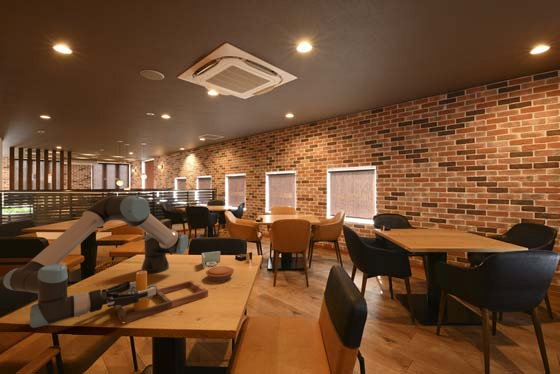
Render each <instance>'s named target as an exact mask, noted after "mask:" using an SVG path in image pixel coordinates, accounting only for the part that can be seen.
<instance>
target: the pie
mask: <svg viewBox="0 0 560 374" xmlns="http://www.w3.org/2000/svg"><path fill="white" fill-rule="evenodd" d="M234 271H235V269H234V268H233V267H230V266H227V265H226V266H225V265H222V266H221V265H219V266H214V267H210V268H209V269H207V270H206V271H205V275H207V277H208V278H209V280H210V281H212V282H225V281H227V280H229V279H230V278H231V277H232V275H233V274H234Z"/></svg>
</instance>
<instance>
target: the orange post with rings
mask: <svg viewBox="0 0 560 374" xmlns="http://www.w3.org/2000/svg"><path fill="white" fill-rule="evenodd" d="M135 282H136V286H132V287H131V290H130V289H128V290H126V291H125V293H124V294H131V293H138V292H140V291H143V290H147V289H151V288H155V287H156V291H157V289H158V286H157V285H155V284H150V285H149V286H148V273H147V271H142V270H140V271H137V272H136V273H135ZM133 288H135V289H133ZM152 298H154V297H153V295H152V296H150V297H149V296H148V297H145V298H141V299H139V302H137V303H132V305H133V310H134V312H135V311H139V310H142V309H145V308H148V307H151V306H150V304H151V303H150V301H151V300H150V299H152Z"/></svg>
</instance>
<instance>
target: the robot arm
mask: <svg viewBox="0 0 560 374" xmlns="http://www.w3.org/2000/svg"><path fill="white" fill-rule="evenodd" d="M110 221H121V222H123V223H125V224H127V225H128V226H130V227H133V228H134V227H135V228H138V229H140V230H141V231H143V232H144V233H146V234H145V235H144V260H143V263H142V266H141V271H147V274H155V273H162V272H165V271H167V270H168V269H169V268H170V263H169V261H168V259H167V258H168V257H167V254H170V255H171V254H172V255H183V254H184V253H185V252H186V251H187V249H188V246H189V237H188V235H186V234H183V233H182V234H181V233H179V232H178V231H176V230H175V229H170V228H168V227H167V226H166V225H165V224H163V222H161V221H160V220H159V219H157V218H156V217H155V216H154V215H152V213H151V208H150V204H149V202H148V200H147V199H146V198H145V197H142V196H138V195H109V196H107V197H104V198H102V199H100V200H98V201H96V202H95V203H94V204H92V205H91V206H89V207H88V208H87V209H86V210H84V211H83V212H82V215H81V217H80V218H79V219H77V221H75V222H74V223H73V224H72V225H71V226H69V227H68V228H67V229H66V230H65V231H64V232H63V233H61V234H60V235H58V237H57V238H55V239H54V241H52V242H51V243H50V244H48V246H46V247H45V248H44V249H42V251H41V252H39V253H38V254H37V255H36V256H35V257H34V258H33V259H31V260H30V261H29V262H27V263H26V264H25V265H24V266H23V267H16V268H14V269H12V270H10V271H8V272H7V273H6V274H5V276H4V278H3V281H2V282H3V286H4V287H5V289H8V290H12V291H15V292H25V293H26V292H28V293H33V294H37V303H35V304H31V305H30V307H29V326H30V328H33V329H34V328H40V327H44V326H50V325H52V324H55V323H58V322H62V321H65V320H69V319H73V318H75V317H76V318H80V317H81V316H82V315H87V314H88V313H94V312H95V313H96V312H98V311H101V310H102V308H103V305H107V308H112V307H113V306H116V305H123V304H127V305H130V304H133V303H137V302H139V299H141V298H145V297H148V296H152V295H156V287H150V288H149V289H147V290H143V291H140V292H138V293H134V292H133V293H131V292H130V293H128V294H125V293H124V292H127V291H128V290H131V287H132V286H136V281H134V282H130V280H126V281H124V282H122V283H121V282H120V283H119V284H117V285H113V286H111V287H108V288H105V289H99V288H98V289H95V290H90V291H89V292H88V293H87V291H86V292H81V293H77V294H74V295H70V296H68V279H69V278H68V277H69V274H68V269H67V268H68V267H67V265H66V264H63V263H61V262H63V261H64V259H65V258H67V257H68V256H69V255H70V254H71V253H72V252H73V251H74V250H75V249H76V248H77V247H79V245H80V244H81V243H83V241H84V240H86V239H87V238H88V237H89V236H90V235H91V234H92V233H93V232H94V231H95V230H96V229H97V228H101V227H103V226H104V225H105V224H107V222H108V223H109V222H110ZM133 290H136V289H135V288H133ZM123 306H124V305H123Z"/></svg>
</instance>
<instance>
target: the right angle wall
mask: <svg viewBox="0 0 560 374" xmlns="http://www.w3.org/2000/svg"><path fill="white" fill-rule="evenodd" d="M220 262H221V250H220V251H218V250H217V251H211V252H210V251H208V252H201V265H203V266H202V268H203V270H205V269H206V267H208V266H209V267H208V268H212V267H211V266H214V267H216V266H217V265H218V263H220ZM205 263H206V264H205ZM206 265H207V266H206ZM215 265H216V266H215Z"/></svg>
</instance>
